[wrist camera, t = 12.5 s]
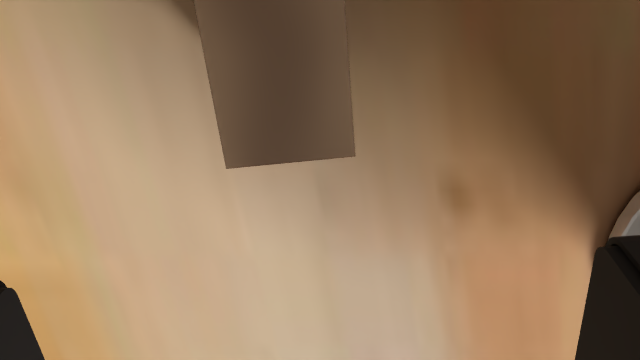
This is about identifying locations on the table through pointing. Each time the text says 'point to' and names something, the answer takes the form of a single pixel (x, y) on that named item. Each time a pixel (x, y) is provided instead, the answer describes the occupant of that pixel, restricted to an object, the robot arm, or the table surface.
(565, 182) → the table surface
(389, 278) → the table surface
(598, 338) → the robot arm
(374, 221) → the table surface
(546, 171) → the table surface
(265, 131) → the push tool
